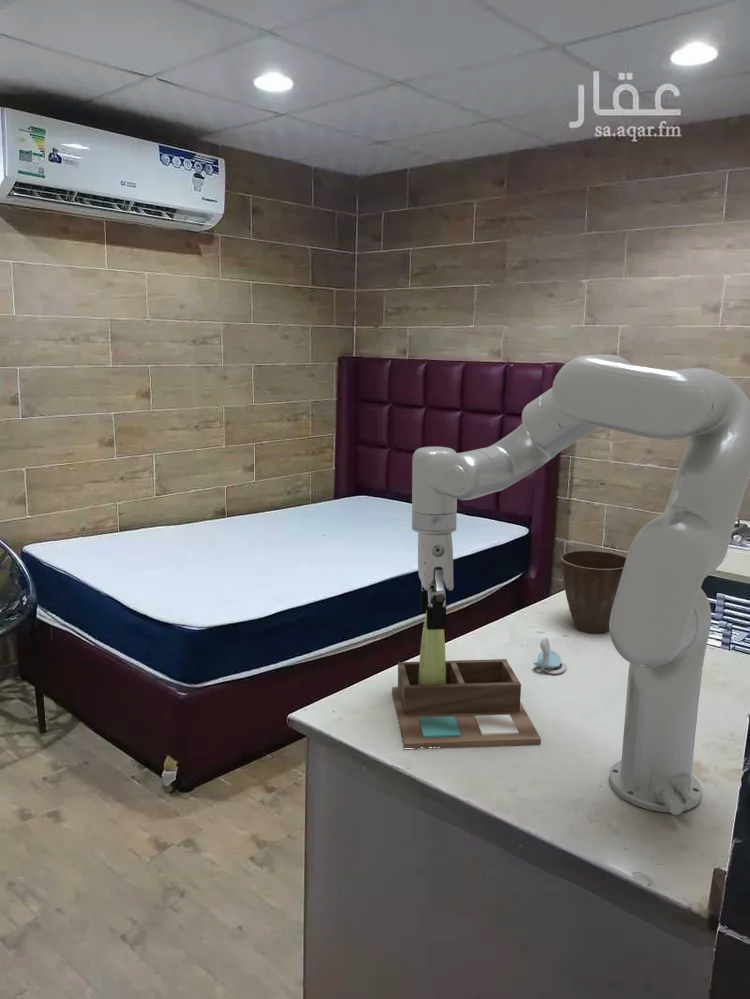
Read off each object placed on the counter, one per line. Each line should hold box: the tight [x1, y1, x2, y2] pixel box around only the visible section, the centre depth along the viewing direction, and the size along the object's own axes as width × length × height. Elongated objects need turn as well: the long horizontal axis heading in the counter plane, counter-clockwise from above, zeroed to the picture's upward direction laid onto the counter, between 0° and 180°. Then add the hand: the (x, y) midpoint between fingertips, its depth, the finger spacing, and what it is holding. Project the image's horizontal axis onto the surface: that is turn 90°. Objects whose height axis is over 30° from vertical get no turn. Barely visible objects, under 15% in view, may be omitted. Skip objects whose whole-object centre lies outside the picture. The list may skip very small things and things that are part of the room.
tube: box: [418, 587, 447, 685], centre depth 133 cm, size 6×5×20 cm
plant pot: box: [560, 550, 627, 634], centre depth 171 cm, size 15×15×16 cm
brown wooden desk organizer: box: [391, 658, 542, 749], centre depth 131 cm, size 20×22×6 cm
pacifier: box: [533, 637, 567, 675], centre depth 150 cm, size 7×6×6 cm
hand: (432, 619), depth 132 cm, fingers closed on tube, 7 cm apart
